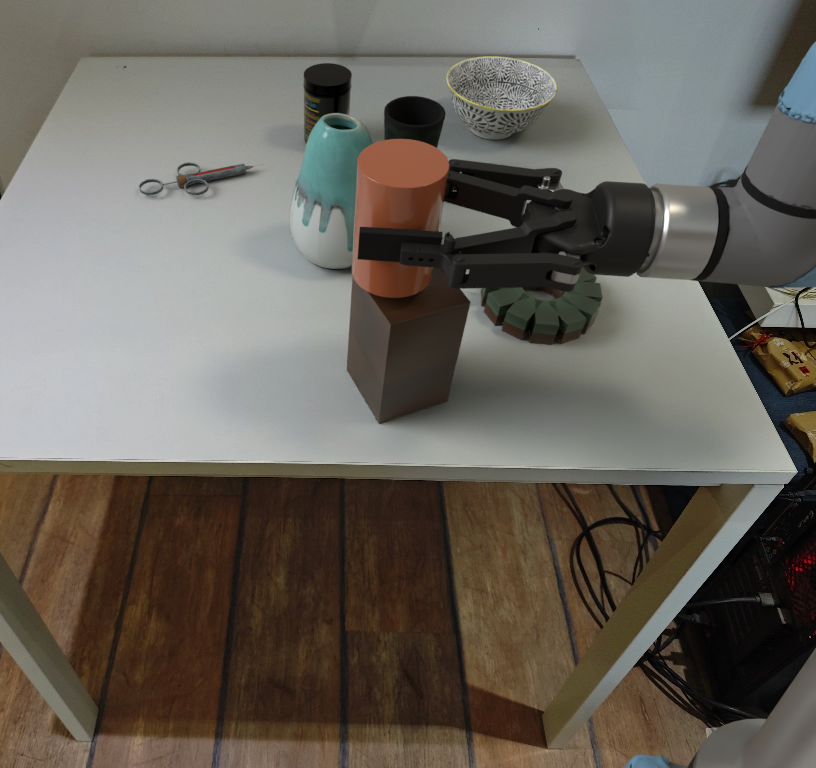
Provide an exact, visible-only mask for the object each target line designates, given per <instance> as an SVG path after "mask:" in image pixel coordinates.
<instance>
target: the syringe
mask: <svg viewBox="0 0 816 768" xmlns="http://www.w3.org/2000/svg"><path fill="white" fill-rule="evenodd" d="M264 165H265V163H263V164H261V166H264ZM259 166H260V164H258V165H256V167H259ZM184 167H195V168H197V169H198V170H197V171H196V172H193V173H185V174H184V173H182V172H180V170H181V169H182V168H184ZM254 167H255V165H246V164H245V163H240V164H239V163H238V164H234V165H229V166H224V167H218V168H213V169H208V170H203V171H201V166H200V165H199V164H198V163H196V162H190V161H189V162H183V163H181V164H180V165H178V166H177V168H176V173H177V175H176V178H175V179H176V180H175V181H171V182H170V181H169V182H165V183H163V182H162V181H161V180H160V179H157V178H147V179H145V180H143V181H141V182H140V183H139V184H138V190H139V193H141V194H142V195H145V196H156V195H158V194H160V193H161V192H162V191H163V190H164V186H167V185H171V184H176V183H177V186H178V188H183V189H184V192H185V193H186V194H188V195H190V196H201V195H204V194H206V193H207V192H208V191H209V189H210V187H209V183H208V181H213V180H217V179H222V178H223V179H224V178H228V177H232V176H237V175H242V174H246V173H247V171H248V170H251V169H253V168H254ZM149 183H157V184H160V188H158V189H157V190H154V191H146V190H143V189H142V187H143V186H145V185H146V184H149ZM198 183H199V184H200V183H201V184H204V185H205V186H206V187H205V188H204V189H203V190H200V191H191V190H189V189H188V188H187V187H188V186H191V185H193V184H198Z"/></svg>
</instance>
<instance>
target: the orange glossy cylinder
mask: <svg viewBox="0 0 816 768" xmlns="http://www.w3.org/2000/svg"><path fill="white" fill-rule="evenodd" d="M448 172H449V159H448V157H447V155H446V154H445V153H444V152H443V151H442V150H441V149H439V148H438V147H437V148H436V147H434V146H432V145H430V144H427V143H424V142H421V141H417V140H410V139H389V140H380V141H377V142H375V143H374V142H373V143H372V144H371V145H370V146H368V147H366V148H365V149H364V150H363V151H362V152H361V153H360V155H359V157H358V160H357V177H356V196H355V215H354V234H353V254H352V266H351V275H352V276H353V278H354V280H355V281H356V283H357V284H358V285H359V286H360V287H361V288H363V289H364V290H366V291H368V292H370V293H372V294H374V295H378V296H381V297H388V298H402V297H408V296H411V295H414V294H417V293H419V292H420V291H422V290H423V289H425V288H426V287H427V285H428V284H429V283H430V281H431V278H432V273H433V267H420V266H406V265H403V264H400V262H390V261H375V260H359V259H358V245H359V231H360V227H375V228H391V229H407V230H423V231H439V232H440V228H441V223H442V216H443V215H442V214H443V209H444V203H445V202H444V197H445V191H446V185H447V178H448Z"/></svg>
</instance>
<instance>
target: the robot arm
mask: <svg viewBox="0 0 816 768" xmlns="http://www.w3.org/2000/svg"><path fill="white" fill-rule="evenodd" d="M448 161H449V172H448V178H447V185H446V191H445V197H444V203H447V204H451V205H454V206H458V207H461V208H465V209H469V210H472V211H476V212H478V213H482V214H486V215H490V216H494V217H497V218H500V219H503V220H508V222H509V223H510V225H511V226H512V227H511V228H505V229H500V230H493V231H489V232H483V233H478V234H477V233H476V234H472V235H466V236H461V237H454V236H453V235H452V233H451V231H447V232H445V234H444V238H443V231H440V230H439V231H423V230H407V229H391V228H375V227H360V231H359V245H358V259H359V260H375V261H390V262H400V264H403V265H406V266H420V267H435V268H439V269H440V270H441V271H442V272H444V273H446V275H447V277H448V285H449V286H450V287H452V288H455V289H461V290H462V289H482V288H518V287H546V288H551V289H556V290H561V291H566V292H570V291H573V290H574V288H575V286H576V283H577V280H578V278H579V275H580V272H581V269H582V267H584V269H585V270H586V271H587V272H588V273H590V274H593V275H595V276H609V277H623V278H625V277H626V278H629V277H631V276H633V275H635V274H636V275H637V276H638V277H639V278H648V279H665V280H683V281H693V282H706V283H717V284H719V283H720V284H730V285H742V286H743V285H744V286H753V287H755V286H756V287H763V288H768V289H784V288H793V289H794V288H797V289H799V288H800V289H801V288H803V289H804V288H816V41H815V42H814V43H812V45H811V46H810V47H809V49H808V51H807V52H806V54H805V55H804V57H803V58H802V59H801V61H800V63H799V64H798V66H797V68H796V70H795V71H794V73H793V75H792V76H791V78H790V80H789V82H788V83H787V85H786V86H785V87H784V89H783V91H781V93H780V95H779V96H778V101H777V104H776V106H775V108H774V110H773V112H772V114H771V116H770V118H769V121H768V122H767V124H766V126H765V128H764V130H763V132H762V134H761V136H760V139H759V140H758V142H757V145H756V147H755V149H754V150H753V153H751V156H750V158H749V160H748V163H747V165H746V166H745V168H744V170H743V172H742V174H741V175H740V177H739V179H738V180H737V183H736V185H735V186H733V187H729V186H728V187H723V186H722V187H721V186H719V187H716V186H715V187H714V186H713V187H712V186H700V185H699V186H698V185H683V184H672V183H671V184H670V183H669V184H668V183H655V184H653V185H651V186H648V185H647V184H645V183H644V182H643V183H642V182H627V181H609V180H606V181H602V182H600V183H599V184H597V185H596V186H595V188H593V189H592V190H591V191H589V192H586V193H583V192H579V191H575V190H572V189H569V188H564V186H563V185H562V183H561V179H562V175H563V171H562V170H561V169H560V168H557V167H545V168H529V167H521V166H513V165H504V164H497V163H488V162H481V161H473V160H467V159H466V160H465V159H457V158H452V159H448ZM527 201H529V202H527ZM467 271H468V273H467ZM624 768H816V647H815V648H814V650H813V651H812V652H811V654H810V656H809V657H808V658H807V660H806V662H805V663H804V664H803V665H802V667H801V668H800V670H799V671H798V673H797V675H795V677H794V679H793V680H792V682H791V683H790V684H789V686H788V688H787V689H786V691H785V692H784V693H783V695H782V696H781V698H780V699H779V701H778V702H777V704H776V705H775V707H774V708H773V709H772V711H771V712H770V714H769V715H768V716H767V718H746V719H740V720H736V721H732V722H728V723H726V724H723V725H721V726H719V727H717V728H716V729H715V730H713V731H712V732H711V733H710V734H709V735H708V736H707V737H706V738H705V739H704V741H703V742H702V744H700V746H699V748H698V750H697V751H696V753H695V755H694V756H693V758H692V759H691V760H690V762H689V764H688V765H682V764H679V763H676V762H673V761H670V759H669V757H668V756H665V755H662V754H659V755H657V756H653V755H649V754H645V753H644V754H643V753H642V754H641V753H640V754H636V755H634V756H633V757H631V758H630V759H629V760H628V762H626V763H625V766H624Z"/></svg>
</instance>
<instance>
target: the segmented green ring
mask: <svg viewBox="0 0 816 768" xmlns="http://www.w3.org/2000/svg"><path fill="white" fill-rule="evenodd" d="M597 278H598V277H597V275H593V274H590V273H588V272H587V271H586V270H585V269H584V267H582V269H581V272H580V275H579V278H578V280H577V283H576V286H575V288H574V290H573V291H570V292H566V291H561V290H556V289H551V288H546V287H518V288H481V290H480V305H481V307H484V309H483V313H484V314H485V315H486V317H487V318H488V319H489V320H490V321H491V323H492V324H493V325H494V326H496V327H497V326H499V325H502V327H501V331H502V332H504V333H506V334H508V335H510V336H512V337H514V338H516V339H519V340H523V338H524V337H525V336H526V335H527V334H528V337H529V343H532V344H543V345H551V346H552V345H553V344H554V341H555V339H556V340H557V341H558V342H559V343H560V344H564V343H567V342H570V341H573V340H577V339H579V338H580V336H581V334H584V335H585V334H587V332H588V331H589V330H590V328H591V327H592V326H593V324H594V323H595V320H596V318H597V317H598V313H599V311H600V308H601V306H602V300H603V298H604V297H603V292H602V287H601V286H602V285H601V282H596V281H597ZM528 290H533V291H534V290H535V291H542V292H544V293H546V294H549V295H550V296H552V297H553V298H554V299H551V300H549V299H540V298H537V297H535V296H533V295H531V294H528V293H527V291H528Z"/></svg>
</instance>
